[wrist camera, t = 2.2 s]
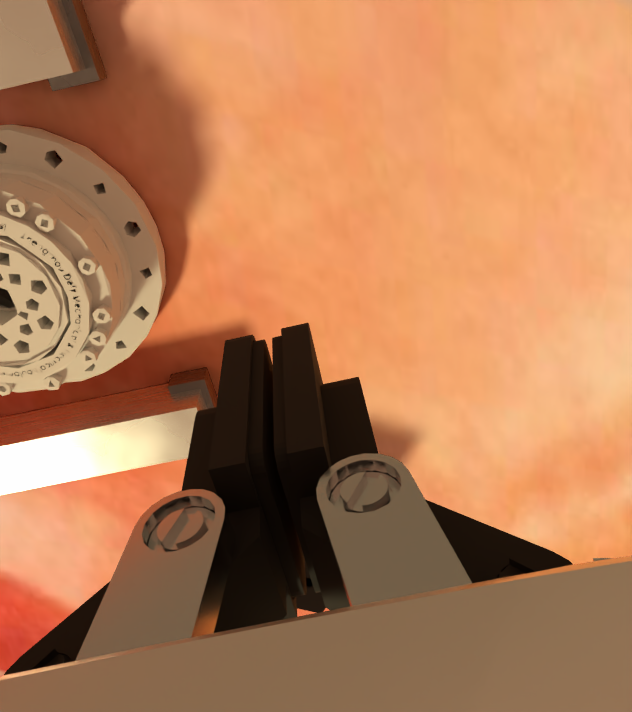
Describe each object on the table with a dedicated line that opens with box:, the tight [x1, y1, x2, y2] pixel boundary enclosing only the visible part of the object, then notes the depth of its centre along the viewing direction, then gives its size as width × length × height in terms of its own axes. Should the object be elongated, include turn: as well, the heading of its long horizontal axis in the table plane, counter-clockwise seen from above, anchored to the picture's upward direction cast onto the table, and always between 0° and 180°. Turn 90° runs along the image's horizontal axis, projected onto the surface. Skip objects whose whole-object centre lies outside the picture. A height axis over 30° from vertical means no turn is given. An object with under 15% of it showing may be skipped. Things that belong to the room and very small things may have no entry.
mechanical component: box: [0, 124, 166, 396], centre depth 22 cm, size 10×4×10 cm
